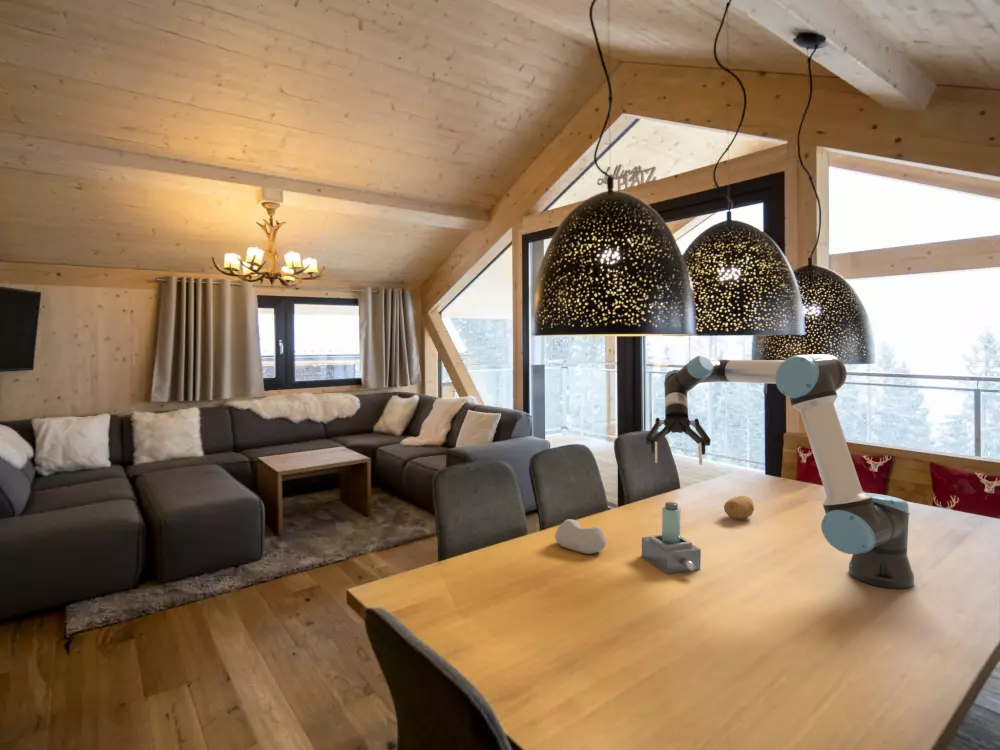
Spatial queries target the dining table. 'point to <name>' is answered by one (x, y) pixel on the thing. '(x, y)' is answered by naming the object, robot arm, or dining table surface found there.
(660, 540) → the square hollow holder
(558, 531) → the decorative stone
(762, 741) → the dining table surface
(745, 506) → the potato
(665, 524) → the teal bottle
